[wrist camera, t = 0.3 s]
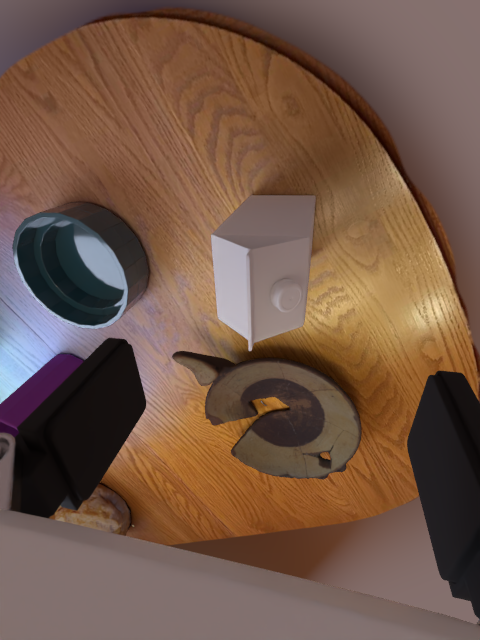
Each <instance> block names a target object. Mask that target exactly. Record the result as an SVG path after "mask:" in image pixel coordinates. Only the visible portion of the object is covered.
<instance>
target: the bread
mask: <svg viewBox="0 0 480 640" xmlns="http://www.w3.org/2000/svg"><path fill="white" fill-rule="evenodd" d="M126 505H127V504H126V503H125V501H124V500H123V499H122V498H121V497H120V496H119V495H118V494H116V493H115V492H114V491H112V490H110V489H109V488H107V487H105V486H103V485H101V484H98V486H97V487H96V489H95V490H94V492H93V493H92V495H91V496H90V498H89V499H87V500H85V501H83V503H82V504H81V506H80V507H79V509H78V510H77V511H76V510H71V509H67V508H63V507H61V505H60V506H59V508H58V509H57V511H56V512H55V520H58V521H63V522H67V523H71V524H76V525H80V526H84V527H88V528H93V529H97V530H101V531H106V532H110V533H114V534H118V535H123V536H126V533H127V530H128V528H129V527H130V526H131V525H130V523H131V519H130V518H131V517H130V514H129V513H130V512H131V511H130V509H128V508H127V506H126ZM132 526H133V527H134V525H132Z"/></svg>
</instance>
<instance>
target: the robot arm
mask: <svg viewBox="0 0 480 640" xmlns="http://www.w3.org/2000/svg"><path fill="white" fill-rule="evenodd" d="M145 408H146V399H145V395H144V391H143V387H142V383H141V379H140V375H139V371H138V368H137V364H136V360H135V356H134V352H133V348H132V346H131V345H130V344H128V342H127V341H126V340H125V339H116V338H108V339H106V340H105V341H104V342H103V343H102V344H101V345H100V346H99V347H98V348H97V349H96V350H95V351H94V352H93V353H92V354H91V355H90V356H89V357H88V358H87V359H86V360H85V361H84V362H83V363H82V364H81V365H80V366H79V367H78V368H77V369H76V370H75V371H74V372H73V373H72V374H71V375H70V376H69V377H68V378H67V379H66V380H65V381H64V382H63V383H62V384H61V385H60V386H59V387H58V388H57V389H56V390H54V391H53V392H52V393H51V394H50V395H49V396H48V397H47V398H46V399H45V400H44V401H43V402H42V403H41V404H40V405H39V406H38V407H37V408H36V409H35V410H34V411H33V412H32V413H31V414H30V415H29V416H28V417H27V418H26V419H25V420H24V421H23V422H22V423H21V424H20V425H19V426H18V427H17V430H18V431H19V433H18V434H17V435H16V436H15V437H13V436H12V435H11V434H8V433H0V640H480V403H479V401H478V399H477V397H476V396H475V394H474V392H473V390H472V388H471V387H470V385H469V383H468V381H467V379H466V378H465V376H464V375H463V374H462V373H457V372H447V371H437V373H436V374H435V375H430V376H429V377H428V379H427V382H426V385H425V388H424V391H423V394H422V397H421V400H420V403H419V406H418V409H417V412H416V415H415V418H414V421H413V424H412V427H411V430H410V433H409V436H408V441H407V447H408V453H409V457H410V461H411V465H412V468H413V472H414V476H415V480H416V484H417V488H418V492H419V496H420V500H421V504H422V507H423V511H424V515H425V519H426V523H427V527H428V531H429V535H430V539H431V543H432V547H433V551H434V554H435V558H436V562H437V566H438V570H439V573H440V575H441V577H442V579H443V580H447V581H449V585H450V589H451V592H452V596H453V597H455V598H460V599H464V600H468V601H471V603H472V607H473V610H474V613H475V615H476V616H477V617H478V618H479V621H478V622H477V624H473V623H469V622H466V621H463V620H460V619H457V618H454V617H450V616H447V615H443V614H439V613H436V612H432V611H428V610H425V609H421V608H417V607H413V606H409V605H406V604H402V603H398V602H394V601H390V600H387V599H383V598H379V597H375V596H371V595H367V594H363V593H359V592H355V591H351V590H347V589H343V588H339V587H335V586H331V585H326V584H322V583H318V582H314V581H310V580H306V579H302V578H298V577H294V576H290V575H286V574H282V573H278V572H274V571H269V570H265V569H261V568H257V567H253V566H249V565H245V564H240V563H236V562H232V561H228V560H223V559H219V558H215V557H211V556H207V555H203V554H199V553H194V552H190V551H186V550H182V549H178V548H174V547H169V546H165V545H161V544H157V543H153V542H148V541H144V540H140V539H136V538H131V537H127V536H123V535H118V534H114V533H110V532H106V531H101V530H97V529H93V528H88V527H84V526H80V525H76V524H71V523H67V522H63V521H58V520H55V512H56V511H57V509H58V508H59V506H60V505H61V507H63V508H67V509H71V510H76V511H77V510H78V509H79V507H80V506H81V504H82V503H83V501H85V500H87V499H89V498H90V496H91V495H92V493H93V492H94V490H95V489H96V487H97V486H98V484H99V482H100V481H101V479H102V478H103V476H104V474H105V473H106V471H107V470H108V468H109V466H110V465H111V463H112V462H113V460H114V458H115V457H116V455H117V454H118V452H119V450H120V449H121V447H122V446H123V444H124V443H125V441H126V439H127V438H128V436H129V435H130V433H131V431H132V430H133V428H134V427H135V425H136V423H137V422H138V420H139V419H140V417H141V415H142V414H143V412H144V410H145Z"/></svg>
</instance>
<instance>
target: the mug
mask: <svg viewBox="0 0 480 640" xmlns="http://www.w3.org/2000/svg"><path fill="white" fill-rule="evenodd" d="M83 362H84V361H83V360H81V359H79V358H77V357H75V356H72V355H67V354H58V355H57V356H55V357H54V358H53V359H51V360H50V361H49V362H48V363H47V364H45V365H44V366H43V367H42V368H41V369H40V370H39V371H37V372H36V373H35V374H34V375H33V376H32V377H31V378H29V379H28V380H27V381H26V382H25V383H24V384H23V385H21V386H20V387H19V388H18V389H17V390H16V391H15V392H13V393H12V394H11V395H10V396H9V397H8V398H7V399H6V400H4V401H3V402H2V403H1V404H0V433H8V434H11V435H12V436H13V437H15V436H16V435H17V434H18V433H19V431H18V430H17V427H18V426H19V425H20V424H21V423H22V422H23V421H24V420H25V419H26V418H27V417H28V416H29V415H30V414H31V413H32V412H33V411H34V410H35V409H36V408H37V407H38V406H39V405H40V404H41V403H42V402H43V401H44V400H45V399H46V398H47V397H48V396H49V395H50V394H51V393H52V392H53V391H54V390H56V389H57V388H58V387H59V386H60V385H61V384H62V383H63V382H64V381H65V380H66V379H67V378H68V377H69V376H70V375H71V374H72V373H73V372H74V371H75V370H76V369H77V368H78V367H79V366H80V365H81V364H82V363H83Z"/></svg>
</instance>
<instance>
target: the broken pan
mask: <svg viewBox="0 0 480 640" xmlns="http://www.w3.org/2000/svg"><path fill="white" fill-rule="evenodd" d="M172 357H173V359H174V360H175V361H176V362H177V363H179V364H181V365H183V366H185V367H187V368H188V369H190V370H191V371H192V372H193V373H194V375H195V377H196V379H197V381H198V382H199V384H200V385H201V386H206V385H209V384H210V383H212V382H213V384H212V386H211V387H210V389H209V391H208V394H207V397H206V402H205V414H206V418H207V419H209V420H210V421H211V423H212V425H219V424H222V423H223V424H224V423H226V422H228V421H236V420H238V419H243V418H247V417H253V416H256V415H257V414H258V412H257V410H256V408H255V407H254V406H253V404H252V402H249V401H251V400H255V399H260V398H261V399H263V398H265V399H266V398H268V397H276V398H278V399H279V400H280V401H282V402H283V403H284V404H286V405H287V406H289V407H290V410H283V411H274V412H269V413H267V414H265V415H262V416H261V417H260V418H259V419H257V420H256V421H255V422H254V423H253V424H252V426H250V427H249V428H248V429H247V431H246V432H245V434H244V435H243V436H242V437H241V438H240V439H239V441H237V443H236V444H235V445H234V447H233V448H232V450H231V453H232V455H233V456H234V457H236V458H238V459H239V460H240V461H241V462H243V463H244V464H246V465H248V466H250V467H252V468H254V469H256V470H258V471H260V472H263V473H266V474H269V475H273V476H279V477H289V478H294V477H295V478H297V479H299V478H300V479H301V478H307V479H309V478H318V479H325V478H327V476H328V474H329V473H333V472H343V471H345V470H346V463H347V462H348V461H349V460H350V459H351V458H352V457H353V455H354V454H355V452H356V450H357V449H358V446H359V444H360V441H361V421H360V417H359V414H358V411H357V409H356V407H355V405H354V403H353V401H352V400H351V398H350V397H349V396H348V395H347V393H346V392H345V391H344V390H343V389H342V388H341V387H340V385H338V383H336V382H335V381H334V380H333V379H332V378H330V377H329V376H328V375H326V374H324V373H323V372H321V371H319V370H318V369H316V368H313V367H311V366H309V365H306V364H303V363H300V362H296V361H292V360H287V359H280V358H258V359H252V360H247V361H244V362H241V363H239V364H237V365H236V364H234V363H232V362H231V361H229V360H227V359H224V358H218V357H212V356H207V355H202V354H197V353H192V352H186V351H179V352H176V353H174V354H173V356H172ZM260 402H262V401H260ZM262 403H263V402H262ZM263 404H264V403H263ZM264 405H265V404H264ZM265 406H266V405H265ZM322 452H329V454H330V457H331V460H328V459H324V458H322V457H321V456H320V454H321V453H322Z"/></svg>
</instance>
